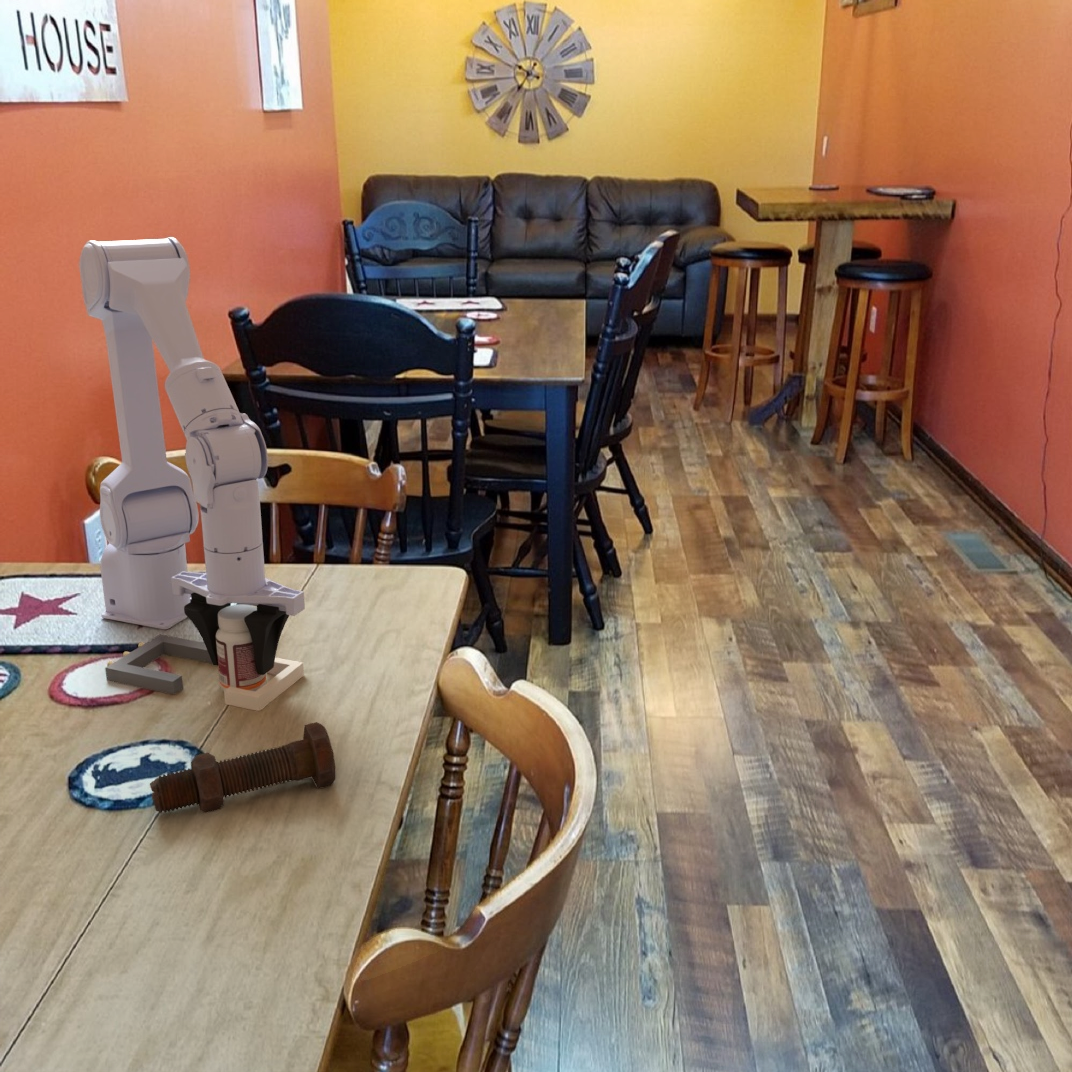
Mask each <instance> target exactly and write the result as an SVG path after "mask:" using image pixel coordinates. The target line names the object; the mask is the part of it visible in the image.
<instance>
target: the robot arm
mask: <svg viewBox="0 0 1072 1072" xmlns="http://www.w3.org/2000/svg"><path fill="white" fill-rule="evenodd" d="M78 262H79V263H78V266H79V275H80V283H81V290H82V297H83V303H84V306H85V308H86V314H87V316H88V317H92V318H95V319H98V320H101V323H102V327H103V331H104V336H105V341H106V343H105V344H106V347H107V348H106V350H107V358H108V362H109V363H108V364H109V373H110V380H111V387H112V394H113V401H114V409H115V418H116V424H117V432H118V440H119V449H120V454H121V455H120V456H121V463H120V464H119V465H118V466H117V467H116V468H115V469H114V470H113V471H111V473H109V475H107V476H106V477H105V478H104V479H103V480H102V481H101V482H100V488H99V494H100V495H99V496H100V504H99V518H100V525H101V528H102V531H103V534H104V537H105V539H106V540H107V542H108V544H107V545H106V547H105V548H104V549H103V551H102V555H101V558H100V574H101V575H100V576H101V585H102V591H103V598H104V599H103V600H104V607H105V611H103V612H102V613H101V616H100V617H101V618H103V619H106V620H107V619H108V620H113V621H117V622H123V623H128V624H133V625H139V626H144V627H150V628H154V629H160V630H168V629H170V628H172V627H174V626H175V625H177V624H179V623H180V622H182V621H184V620H185V619H187V618H188V620H190V621H191V623H192V624H193V625H194V627H195V628H196V630H197V632H198V633H199V635H200V637H201V639H202V642H203V643H205V646H206V648H207V651H208V653H209V656H210V658H211V661H212V663H211V664H212V666H216V667H218V655H217V645H216V632H217V630H218V629H219V624H218V612H219V611H220V610H221V609H223V608H225V607H228V606H232V605H231V604H240V605H241V604H243V605H251V606H254V607H256V608H257V610H256V611H253V612H252V613H250V614H249V615H247V616H246V617H244V621H245V623H246V625H247V628H248V630H249V633H250V636H251V639H252V643H253V648H254V658H255V667H256V671H257V674H260V675H264V674H266V675H267V674H268V673H267V672H268V671H270V670H271V669H272V668H274V661H275V657H276V655H277V651H278V645H279V642H280V638H281V635H282V633H283V631H284V628H285V626H286V623H287V621H288V618H289V617H290V616H292V617H295V616H297V615H298V614H300V613H301V612H303V611H304V610H305V608H306V606H305V591H302V590H297V589H293V588H291V587H288V586H285V585H283V584H281V583H278V582H276V581H273V580H271V579H268V578H266V572H265V571H266V570H265V569H266V568H265V556H264V542H263V529H262V528H263V527H262V516H261V515H262V513H261V499H260V487H259V486H260V485H259V481H258V480H261V479H263V478H265V476H266V474H267V471H268V467H269V465H268V464H269V455H268V449H267V445H266V444H267V443H266V441H265V438H264V436H263V434H262V431H261V429H260V427H259V426H258V425H257V424H256V423H255V422H254V421H253V420H251V419H250V418H249V416H248V414H246V413H243V412H240V411H239V408H238V406H237V404H236V401H235V399H234V396H233V394H232V392H231V390H230V388H229V386H228V383H227V381H226V379H225V376H224V375H223V372H222V370H221V368H220V366H219V365H218V364H216V362H212V361H211V360H207V359H205V357H204V354H203V352H202V349H201V346H200V342H199V339H198V336H197V334H196V331H195V328H194V325H193V321H192V318H191V315H190V312H189V309H188V306H187V303H186V302H187V299H188V295H189V286H190V281H191V267H190V261H189V258H188V255H187V252H186V250H185V248H184V246H183V245H182V244H181V242H179V240H178V239H177V238H175V237H174V236H170V237H168V236H167V237H165V238H158V239H157V238H156V239H155V238H153V239H152V238H151V239H136V240H135V239H133V240H132V239H130V240H112V241H111V240H109V241H108V240H107V241H97V240H92V239H91V240H88V241H87V242H86V243H85V244H84V246H83V248H82V249H81V252H80V257H79V261H78ZM153 343H154V344H153ZM154 346H155V347H156V349H157V350H158V352H159V355H160V356H161V357H162V360H163V361H164V363H165V365H166V367H167V369H168V371H169V373H168V375H167V377H166V379H165V381H164V390H165V393H166V394H167V397H168V399H169V401H170V404H171V406H172V408H173V411H174V413H175V415H176V418H177V420H178V423H179V426H180V428H181V430H182V432H183V435H184V437H185V439H186V443H185V453H184V458H185V463H186V468H187V472H188V474H189V475H188V474H187V472H186V471H184V470H183V469H182V468H180V467H178V466H177V465H175V464H173V463H171V462H169V461H168V459H167V450H166V443H165V435H164V427H163V417H162V409H161V401H160V394H159V386H158V385H159V384H158V376H157V375H158V374H157V369H156V368H157V367H156V360H155V359H156V358H155V352H154V351H155V350H154ZM197 503H198V504H199V505H198V504H197ZM198 506H200V509H199V507H198ZM199 510H200V513H199ZM199 515H200V517H199ZM199 518H200V520H201V530H202V541H203V542H202V543H203V552H204V563H205V572H193V571H192V572H191V571H188V565H187V564H188V562H187V553H186V552H187V551H186V543H190V542H191V539H190V537H191V536H190V535H192V534H193V533H195V531H196V528H197V527H198V525H199Z"/></svg>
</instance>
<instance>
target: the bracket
mask: <svg viewBox="0 0 1072 1072" xmlns="http://www.w3.org/2000/svg"><path fill="white" fill-rule="evenodd" d="M304 668H305V667H304V662H303V661H302V662H301V661H297V660H290V659H287V658H280V657H276V656H275V661H274V668H272V669H271V670H270V671H268V672H267V673H266V674H269V675H270V674H271V675H275V676H273V677H272V678H271V679H270V680H269V681H266V684H265V685H263V686H262V687H261V688H259V689H258V690H257V691H255V692H254V691H249V690H244V689H240V688H235V687H229V688H227V689H226V690H223V693H224V704H225V705H227V706H228V705H229V706H233V707H238V708H242V709H247V710H252V711H257V712H260V711H261V710H263V709H265V707H266V706H268V705H269V704H270V703H271V702H273V701H274V700H276V698H278V697H279V696H280V695H282V693H284V692H286V691H287V689H289V688H290V687H291V686H293V685H294V684H295V683H296V682H298V681H299V680H300V679H301V678H302V677H304V676H305V670H304Z"/></svg>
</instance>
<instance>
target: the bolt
mask: <svg viewBox="0 0 1072 1072" xmlns="http://www.w3.org/2000/svg"><path fill="white" fill-rule="evenodd" d="M303 725H304V727H303V735H302V739H299V740H295V741H292V742H289V743H286V744H285V745H281V746H278V747H274V748H270V749H269V748H268V749H267V748H266V749H263V750H262V751H261V750H259V751H255V752H254V753H253V752H251V754H250V753H247V754H243V756H242V755H239V756H236V757H235V758H234V757H231V759H230V758H228V759H227V760H226V759H223V760H219V762H218V761H217V759H216V757H215V756H214V755H213V754H211V753H210V752H205V753H201V754H197V755H194V756H193V758H192V759H191V760H190V768H189V767H188V768H187V769H186V768H185V769H183V770H181V769H180V770H179V771H178V770H176V771H175V772H173V771H172V772H171V773H169V772H168V773H167V774H165V773H163V775H161V774H160V775H159V776H158V777H157V778H155V779H154V780H152V781H151V782H150V783H149V786H150V789H151V792H152V794H151V799H152V802H153V806H154V809H155V811H157V812H158V813H160V814H162V813H166V812H168V813H170V812H171V811H172V812H174V811H175V810H176V811H178V810H179V809H180V810H182V809H183V808H185V809H186V808H187V807H189V808H191V806H193V807H194V806H195V805H197V806H198V808H199V810H200V811H201V812H203V813H205V814H207V813H211V812H215V811H219V810H221V809H222V808H223V806H225V805H224V804H225V803H224V802H225V798H226V799H227V797H229V798H230V797H231V796H233V797H235V796H236V795H237V796H238V795H239V794H241V795H242V794H243V793H244V794H246V793H247V792H249V793H250V792H251V791H253V792H254V791H255V790H256V791H259V789H261V790H262V789H263V788H264V789H266V788H267V787H268V788H270V787H271V786H272V787H273V786H278V785H279V784H280V785H281V784H282V783H283V784H285V783H286V782H287V783H289V782H295V781H296V782H297V781H304V780H306V779H309V778H311V780H313V782H314V785H315V786H316V788H317V789H318V790H319V789H323V788H326V787H327V788H328V787H331V786H332V785H333V784H334V783H335V780H336V776H337V773H336V772H337V771H336V763H335V753H334V749H333V747H332V743H331V739H330V736H329V734H328V730H327V729H326V727H325V726H324V725H323V724H321V723H319V722H310V723H308V724H303Z"/></svg>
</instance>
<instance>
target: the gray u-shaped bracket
mask: <svg viewBox="0 0 1072 1072" xmlns="http://www.w3.org/2000/svg"><path fill="white" fill-rule="evenodd" d="M165 655H167V656H172V657H178V658H182V659H187V660H192V661H199V662H203V663H209V664H212V661H211V658H210V656H209V653H208V651H207V648H206V646H205V643H204V641H199V640H198V641H196V640H191V639H187V638H182V637H176V636H171V635H165V634H162V633H161V634H159V635H157V636H155V637H153V638H152V639H150V640H148V641H147V642H143V641H142V642H141V641H140V642H139V643H138V647H137V648H135V649H134V650H132V651H128V650H127V651H124V652H123V654H122V657H120V658H119V659H117V660H116V661H113V660H108V662H107V666H106V667H105V668H104V670H105V677H106V681H107V682H113V683H117V684H121V685H125V686H126V685H127V686H130V687H134V688H135V687H136V688H140V689H144V690H149V691H155V692H160V693H164V694H168V695H173V696H174V695H176V694H177V693H179V692H181V690H183V689H184V683H183V682H184V681H183V675H182V674H178V673H172V672H166V671H162V670H157V669H153V668H148V667H147V668H146V666H148V665H149V664H151V663H152V662H154V661H156V660H157V659H159V658H160V657H162V656H165Z"/></svg>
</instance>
